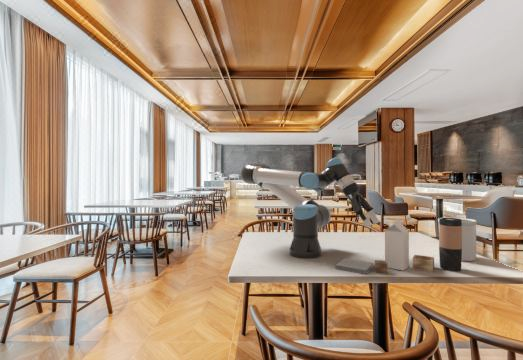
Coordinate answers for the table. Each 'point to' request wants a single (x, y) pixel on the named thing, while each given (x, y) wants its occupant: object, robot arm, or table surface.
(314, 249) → the robot arm
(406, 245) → the milk carton
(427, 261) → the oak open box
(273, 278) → the table surface
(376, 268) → the walnut block
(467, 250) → the utensil holder
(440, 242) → the travel mug
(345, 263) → the slate board
